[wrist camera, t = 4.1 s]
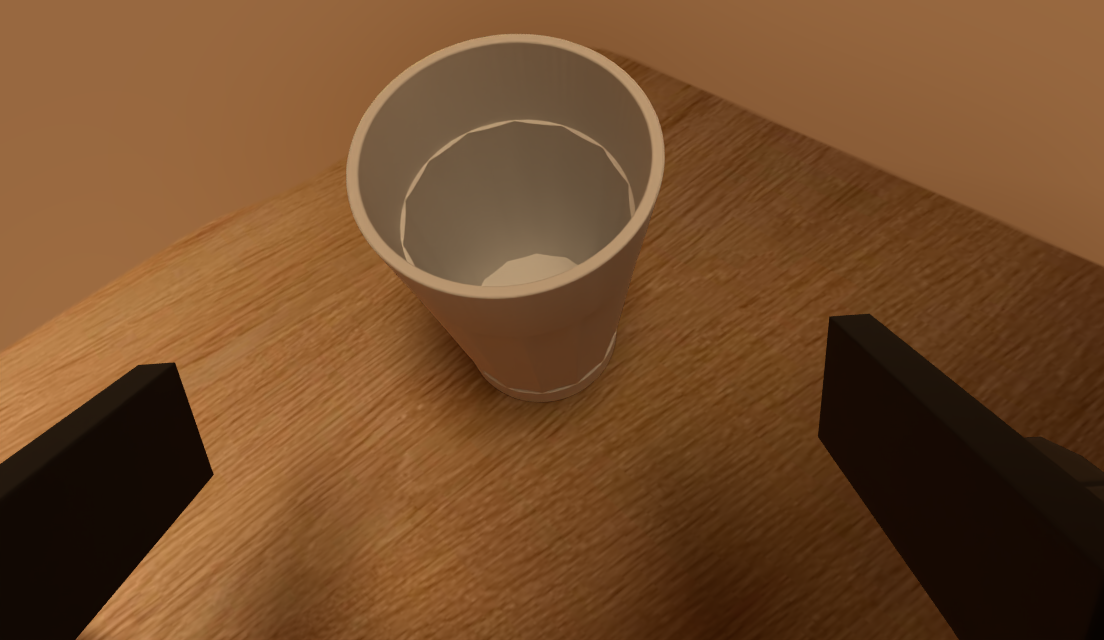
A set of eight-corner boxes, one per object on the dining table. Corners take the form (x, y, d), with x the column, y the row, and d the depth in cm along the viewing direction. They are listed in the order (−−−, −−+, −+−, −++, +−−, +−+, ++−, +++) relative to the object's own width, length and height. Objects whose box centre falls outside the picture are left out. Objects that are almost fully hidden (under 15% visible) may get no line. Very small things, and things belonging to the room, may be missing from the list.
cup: (411, 340, 27) (281, 173, 16) (535, 216, 29) (496, -10, 18) (550, 463, 24) (511, 367, 13) (674, 319, 26) (730, 131, 15)
